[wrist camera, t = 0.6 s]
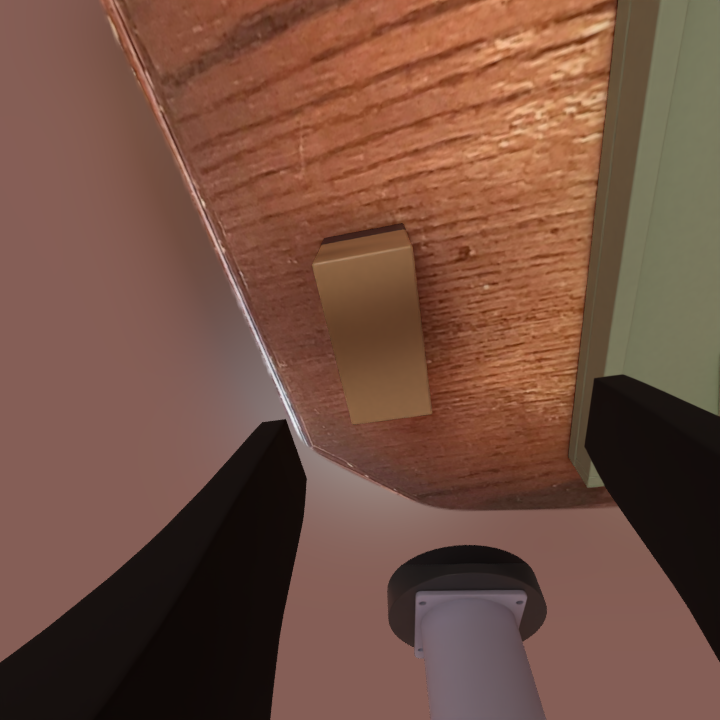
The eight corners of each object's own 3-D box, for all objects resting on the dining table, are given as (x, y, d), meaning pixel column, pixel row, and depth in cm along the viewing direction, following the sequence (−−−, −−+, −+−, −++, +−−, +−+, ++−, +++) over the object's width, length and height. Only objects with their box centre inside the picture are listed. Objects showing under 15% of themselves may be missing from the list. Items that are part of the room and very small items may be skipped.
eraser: (421, 365, 19) (432, 415, 16) (355, 375, 19) (351, 426, 16) (403, 222, 16) (412, 245, 12) (323, 238, 16) (310, 263, 13)
